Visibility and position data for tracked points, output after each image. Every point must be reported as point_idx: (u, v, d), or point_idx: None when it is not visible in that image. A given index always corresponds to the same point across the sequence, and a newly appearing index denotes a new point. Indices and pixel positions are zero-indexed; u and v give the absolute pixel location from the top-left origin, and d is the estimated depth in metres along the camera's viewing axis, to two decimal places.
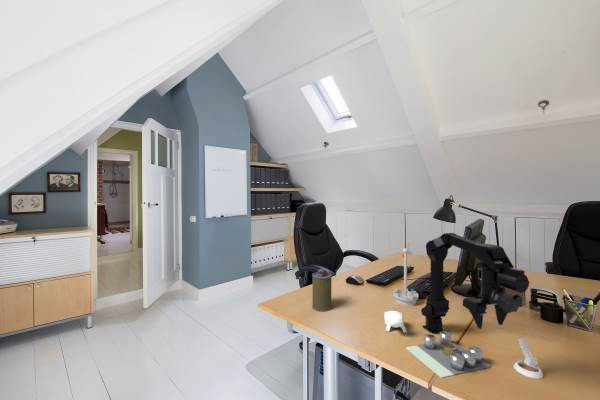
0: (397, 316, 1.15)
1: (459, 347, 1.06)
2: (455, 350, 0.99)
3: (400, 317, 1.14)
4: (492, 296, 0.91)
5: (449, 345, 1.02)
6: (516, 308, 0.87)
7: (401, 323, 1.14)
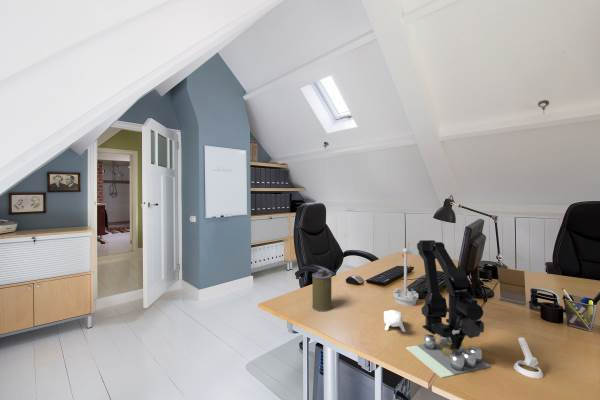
0: (395, 315, 1.15)
1: None
2: (454, 350, 0.99)
3: (398, 316, 1.15)
4: (457, 322, 0.99)
5: (448, 345, 1.01)
6: (478, 333, 0.95)
7: (399, 322, 1.14)
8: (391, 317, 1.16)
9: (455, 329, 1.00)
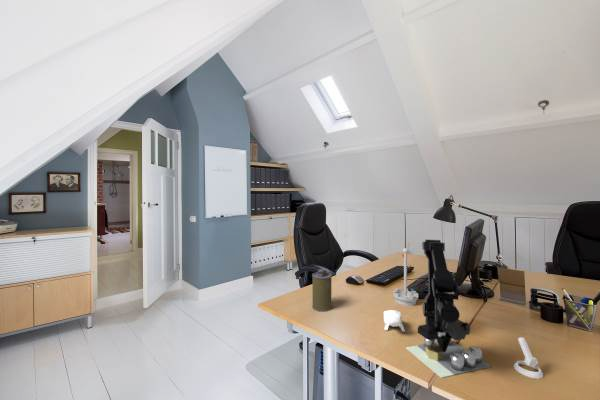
0: (395, 315, 1.16)
1: (459, 347, 1.06)
2: (440, 353, 0.98)
3: (398, 316, 1.15)
4: (443, 324, 0.97)
5: (434, 348, 1.00)
6: (463, 336, 0.93)
7: (399, 322, 1.14)
8: (391, 317, 1.16)
9: (441, 331, 0.98)
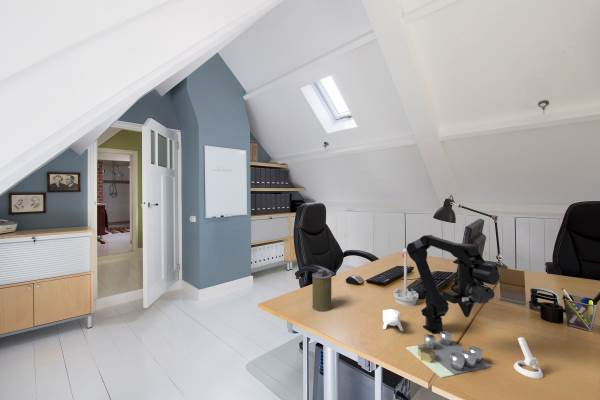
0: (393, 314, 1.17)
1: (459, 347, 1.06)
2: (432, 355, 0.97)
3: (396, 315, 1.16)
4: (467, 289, 1.02)
5: (426, 349, 0.99)
6: (487, 299, 0.98)
7: (396, 321, 1.15)
8: (388, 316, 1.17)
9: (465, 296, 1.03)
